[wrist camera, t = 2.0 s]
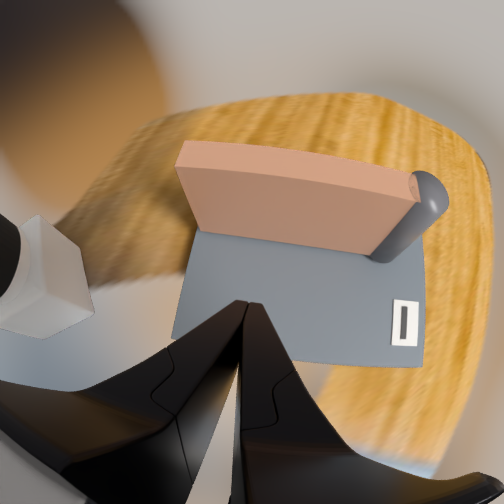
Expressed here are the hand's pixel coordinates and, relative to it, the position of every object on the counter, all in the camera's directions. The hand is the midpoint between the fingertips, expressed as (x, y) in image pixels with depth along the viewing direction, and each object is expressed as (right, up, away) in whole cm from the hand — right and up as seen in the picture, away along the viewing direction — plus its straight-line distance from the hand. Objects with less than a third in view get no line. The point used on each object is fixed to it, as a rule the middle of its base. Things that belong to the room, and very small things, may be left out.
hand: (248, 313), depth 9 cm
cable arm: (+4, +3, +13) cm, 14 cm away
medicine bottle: (-18, -2, +13) cm, 22 cm away
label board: (+5, +1, +13) cm, 14 cm away
